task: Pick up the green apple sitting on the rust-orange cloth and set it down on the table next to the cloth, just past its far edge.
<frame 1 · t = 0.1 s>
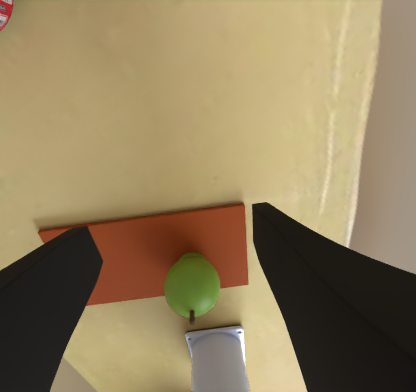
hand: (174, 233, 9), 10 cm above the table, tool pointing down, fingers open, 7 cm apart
apple: (192, 263, 23), resting on cloth
cloth: (154, 258, 23), on the table
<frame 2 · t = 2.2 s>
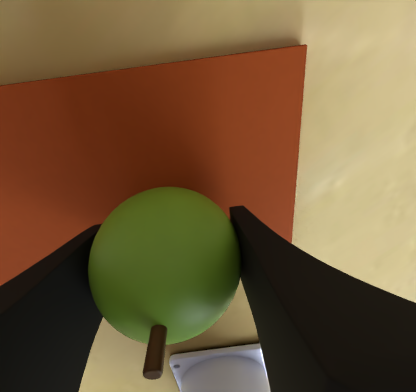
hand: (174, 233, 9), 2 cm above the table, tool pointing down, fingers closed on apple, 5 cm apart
apple: (175, 216, 11), resting on cloth, touching gripper
cloth: (93, 206, 11), on the table
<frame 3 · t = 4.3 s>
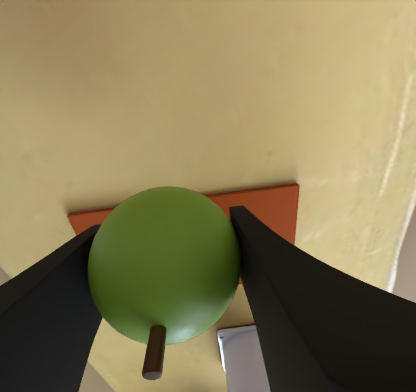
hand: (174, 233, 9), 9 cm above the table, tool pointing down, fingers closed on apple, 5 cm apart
apple: (175, 216, 11), point 7 cm above the table, touching gripper
cloth: (192, 247, 21), on the table
when the fingers open (1 cm above the table, at t = 6.6 s): apple stays where it is, on the table.
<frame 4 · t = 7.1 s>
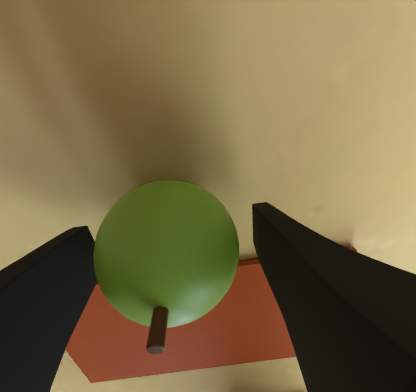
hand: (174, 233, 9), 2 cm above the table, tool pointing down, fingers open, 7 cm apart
apple: (176, 210, 11), on the table
cloth: (201, 322, 15), on the table
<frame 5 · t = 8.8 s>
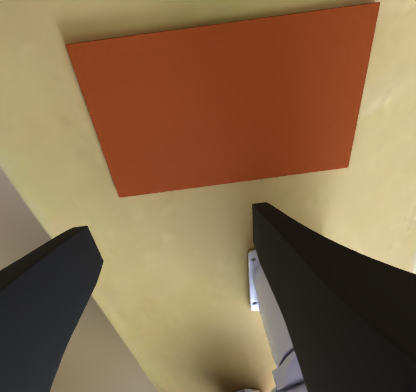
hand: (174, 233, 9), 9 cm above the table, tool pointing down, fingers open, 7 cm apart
cloth: (228, 115, 16), on the table
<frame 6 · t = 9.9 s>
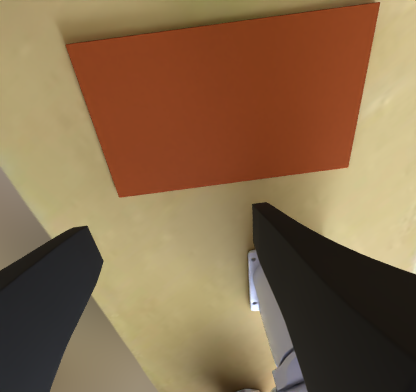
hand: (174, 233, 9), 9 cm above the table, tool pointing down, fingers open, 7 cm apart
cloth: (228, 115, 16), on the table
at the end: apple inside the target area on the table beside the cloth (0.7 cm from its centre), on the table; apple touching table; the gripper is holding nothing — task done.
